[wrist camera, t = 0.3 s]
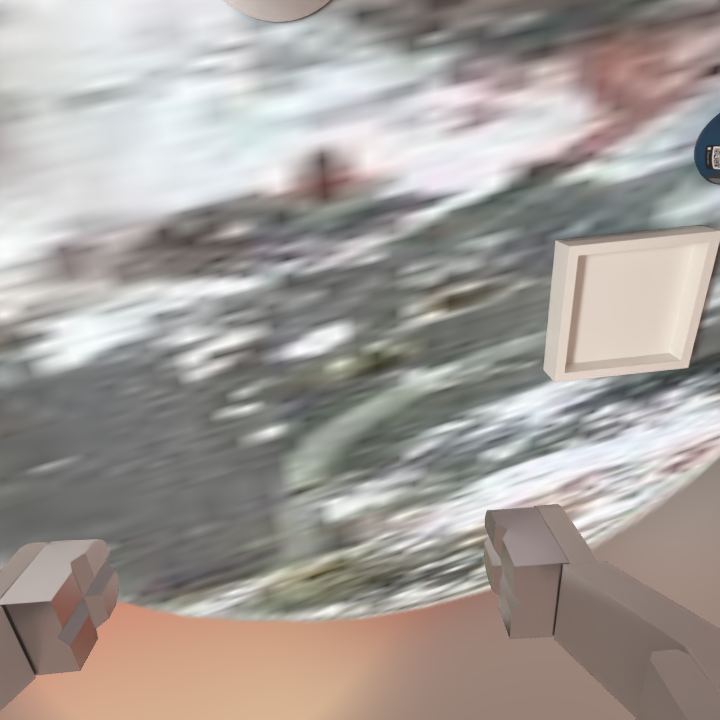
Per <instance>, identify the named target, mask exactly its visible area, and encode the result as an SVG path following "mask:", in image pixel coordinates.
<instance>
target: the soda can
mask: <svg viewBox="0 0 720 720" xmlns="http://www.w3.org/2000/svg"><path fill="white" fill-rule="evenodd" d="M694 159H695V163H696V166H697V168H698V170H699V172H700V174H701V175H702V176H703V177H704V178H705V179H706V180H708V181H709V182H711V183H714V184H720V113H719V114H718V115H717V116H716V117H715V118H713V119H712V120H711V121H710V122H709V123H708V124H707V125H706V127H705V128H704V129H703V130H702V132H701V133H700V135H699V137H698V139H697V142H696V145H695V149H694Z"/></svg>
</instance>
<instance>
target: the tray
mask: <svg viewBox="0 0 720 720" xmlns="http://www.w3.org/2000/svg"><path fill="white" fill-rule="evenodd" d="M719 242H720V230H718V229H714V228H710V227H705V226H701V225H697V226H688V227H678V228H669V229H659V230H650V231H640V232H631V233H621V234H611V235H602V236H592V237H583V238H573V239H564V240H556V243H555V253H554V264H553V274H552V285H551V295H550V306H549V316H548V327H547V337H546V348H545V358H544V369H543V370H544V371H545V372H546V373H547V374H548V375H549V376H550V378H551V379H552V380H553V381H554V382H560V381H569V380H579V379H588V378H597V377H606V376H616V375H625V374H634V373H643V372H653V371H662V370H671V369H680V368H688V366H689V362H690V358H691V354H692V350H693V346H694V342H695V338H696V334H697V330H698V326H699V322H700V318H701V314H702V310H703V306H704V302H705V298H706V294H707V290H708V286H709V282H710V278H711V274H712V270H713V266H714V262H715V258H716V254H717V250H718V246H719Z"/></svg>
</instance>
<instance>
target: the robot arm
mask: <svg viewBox="0 0 720 720" xmlns="http://www.w3.org/2000/svg"><path fill="white" fill-rule="evenodd" d="M223 1H224V2H225V3H227V4H228V5H230V6H231V7H233V8H234V9H236V10H237V11H239V12H241V13H243V14H245V15H248V16H250V17H253V18H256V19H259V20H264V21H271V22H285V21H292V20H296V19H300V18H303V17H305V16H308V15H310V14H312V13H314V12H315V11H317V10H318V9H320V8H321V7H323V6H324V5H325V4H327V3H328V2H329V1H330V0H223ZM485 528H486V530H487V533H488V535H489V537H488V539H487V540H486V541H485V542H484V559H485V567H486V572H487V576H488V580H489V583H490V585H491V588H492V590H493V591H494V592H495V593H497V594H498V595H499V611H500V613H501V616H502V619H503V622H504V624H505V627H506V630H507V633H508V635H509V638H510V639H516V638H539V637H554V640H555V641H556V642H557V643H558V644H559V645H560V646H562V647H563V648H564V649H565V650H566V651H567V652H568V653H569V654H570V655H571V656H572V657H573V658H574V659H575V660H576V661H577V662H578V663H579V664H580V665H581V666H583V668H584V669H586V670H587V671H588V672H589V673H590V674H591V675H592V676H593V677H594V678H595V679H596V680H597V681H598V682H599V683H600V684H601V685H602V686H603V687H604V688H605V689H606V690H607V691H609V692H610V693H611V694H612V695H613V696H614V697H615V698H616V699H617V700H618V701H619V702H620V703H621V704H622V705H623V706H624V707H625V708H626V709H627V710H628V711H630V712H631V713H632V714H633V715H634V716H635V717H636V720H720V628H718V627H716V626H715V625H713V624H711V623H710V622H708V621H706V620H705V619H703V618H701V617H700V616H698V615H696V614H695V613H693V612H691V611H690V610H688V609H686V608H684V607H683V606H681V605H679V604H677V603H676V602H674V601H673V600H671V599H669V598H668V597H666V596H664V595H663V594H661V593H659V592H657V591H656V590H654V589H652V588H651V587H649V586H647V585H646V584H644V583H642V582H640V581H639V580H637V579H636V578H634V577H632V576H630V575H629V574H627V573H625V572H624V571H622V570H620V569H619V568H617V567H615V566H613V565H612V564H610V563H609V562H607V561H602V562H599V561H598V560H597V558H596V557H595V555H594V554H593V552H592V551H591V549H590V548H589V546H588V545H587V543H586V542H585V540H584V539H583V537H582V536H581V534H580V533H579V531H578V530H577V529H576V527H575V526H574V524H573V523H572V521H571V520H570V518H569V517H568V515H567V514H566V512H565V511H564V509H563V508H562V507H561V506H560V505H558V504H553V505H542V506H534V507H525V508H513V509H500V510H488V511H487V512H486V516H485ZM109 555H110V552H109V550H108V547H107V545H106V542H105V541H102V540H99V539H93V540H73V541H53V542H42V543H29V544H27V545H25V546H23V547H21V548H20V549H19V550H18V551H17V552H16V554H15V555H14V556H13V557H12V558H11V559H10V560H9V561H8V562H7V564H6V565H5V566H4V567H3V568H2V569H1V570H0V711H1V710H2V709H3V708H4V707H5V706H6V705H7V704H8V703H9V702H10V701H12V699H14V698H15V697H16V696H17V695H18V694H19V693H20V692H21V691H22V690H23V689H24V688H25V687H27V685H29V684H30V683H31V682H32V681H33V680H34V679H35V678H36V677H35V675H44V674H53V673H63V672H72V671H80V670H81V669H82V667H83V665H84V663H85V661H86V659H87V658H88V656H89V654H90V652H91V650H92V649H93V647H94V645H95V643H96V641H97V639H98V636H97V631H96V628H97V627H99V626H100V625H101V624H102V623H104V622H105V621H106V620H107V619H109V617H110V615H111V613H112V612H113V610H114V608H115V606H116V602H117V598H118V593H119V579H118V576H117V573H116V570H115V569H114V568H113V567H111V566H110V565H109V564H107V563H106V560H107V558H108V556H109Z"/></svg>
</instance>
